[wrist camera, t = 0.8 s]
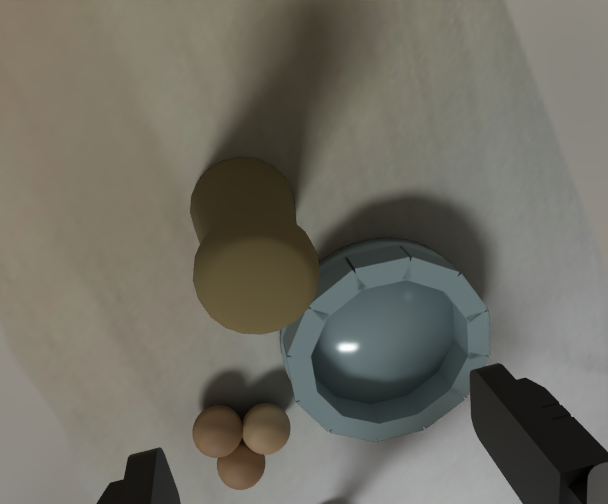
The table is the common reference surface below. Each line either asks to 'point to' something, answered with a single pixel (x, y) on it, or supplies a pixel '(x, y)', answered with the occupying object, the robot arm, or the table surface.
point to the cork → (251, 248)
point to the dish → (385, 340)
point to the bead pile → (241, 440)
